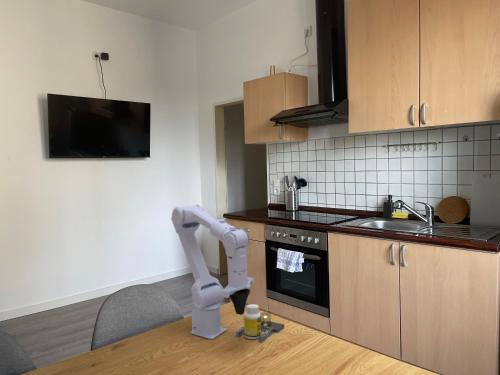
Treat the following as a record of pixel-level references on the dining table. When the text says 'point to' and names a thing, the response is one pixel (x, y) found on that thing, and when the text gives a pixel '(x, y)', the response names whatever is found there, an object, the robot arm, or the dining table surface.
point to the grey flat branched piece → (265, 327)
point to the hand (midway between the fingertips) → (240, 313)
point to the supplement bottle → (252, 322)
